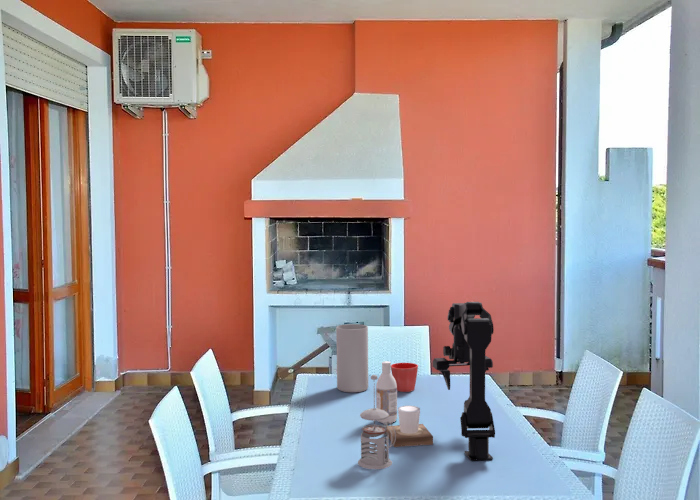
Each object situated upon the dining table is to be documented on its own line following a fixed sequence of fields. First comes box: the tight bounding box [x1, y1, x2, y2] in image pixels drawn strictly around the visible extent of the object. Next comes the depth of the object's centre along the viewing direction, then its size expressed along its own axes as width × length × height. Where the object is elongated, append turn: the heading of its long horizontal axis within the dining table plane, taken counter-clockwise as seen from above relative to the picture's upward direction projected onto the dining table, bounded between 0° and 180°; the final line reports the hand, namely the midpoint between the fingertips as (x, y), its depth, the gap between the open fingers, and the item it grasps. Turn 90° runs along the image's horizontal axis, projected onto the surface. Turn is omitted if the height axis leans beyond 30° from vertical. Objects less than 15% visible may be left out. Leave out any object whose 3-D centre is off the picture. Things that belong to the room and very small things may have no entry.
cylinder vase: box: [335, 323, 369, 393], centre depth 263 cm, size 12×12×25 cm
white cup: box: [397, 405, 421, 434], centre depth 204 cm, size 7×7×7 cm
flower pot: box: [391, 362, 419, 393], centre depth 261 cm, size 11×11×10 cm
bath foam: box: [375, 360, 398, 424], centre depth 222 cm, size 7×7×20 cm
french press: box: [357, 374, 396, 470], centre depth 184 cm, size 10×12×25 cm
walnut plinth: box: [386, 423, 434, 448], centre depth 205 cm, size 12×12×3 cm
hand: (462, 389), depth 215 cm, fingers open, 9 cm apart
